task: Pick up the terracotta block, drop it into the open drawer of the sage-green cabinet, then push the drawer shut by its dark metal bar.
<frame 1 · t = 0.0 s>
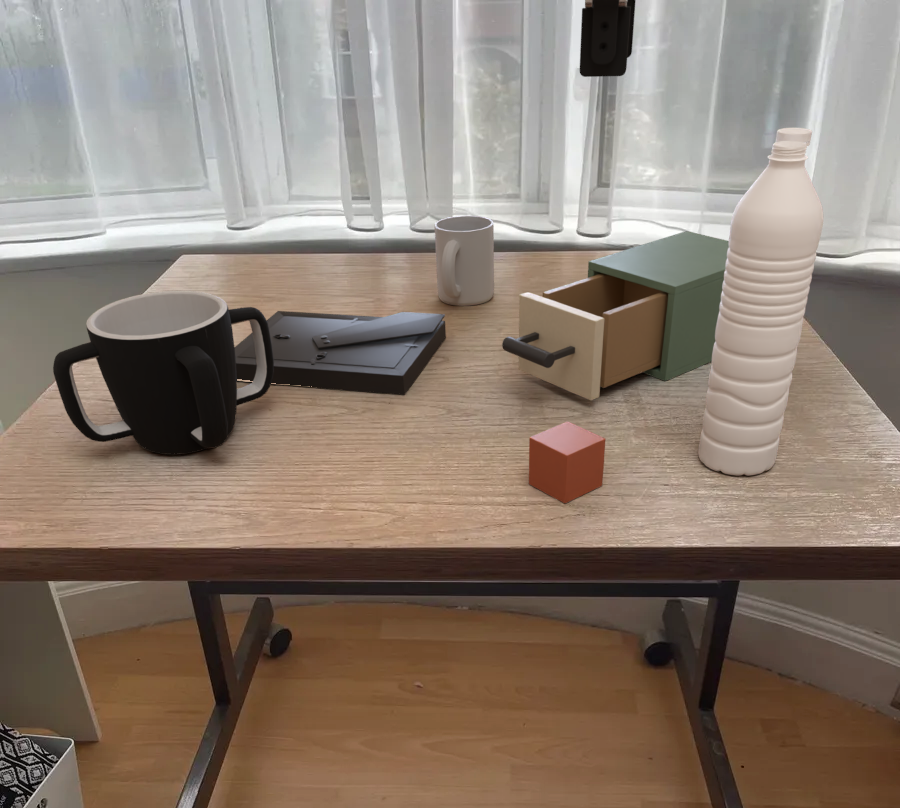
hand: (606, 66, 67), 29 cm above the table, tool pointing down, fingers open, 9 cm apart
cabinet: (671, 345, 99), on the table
water bottle: (737, 455, 79), on the table
picture frame: (337, 360, 100), on the table
drawer: (591, 333, 90), point 5 cm above the table, slide at 9.0 cm
mug: (187, 437, 86), on the table
block: (565, 484, 76), on the table
cup: (462, 302, 114), on the table
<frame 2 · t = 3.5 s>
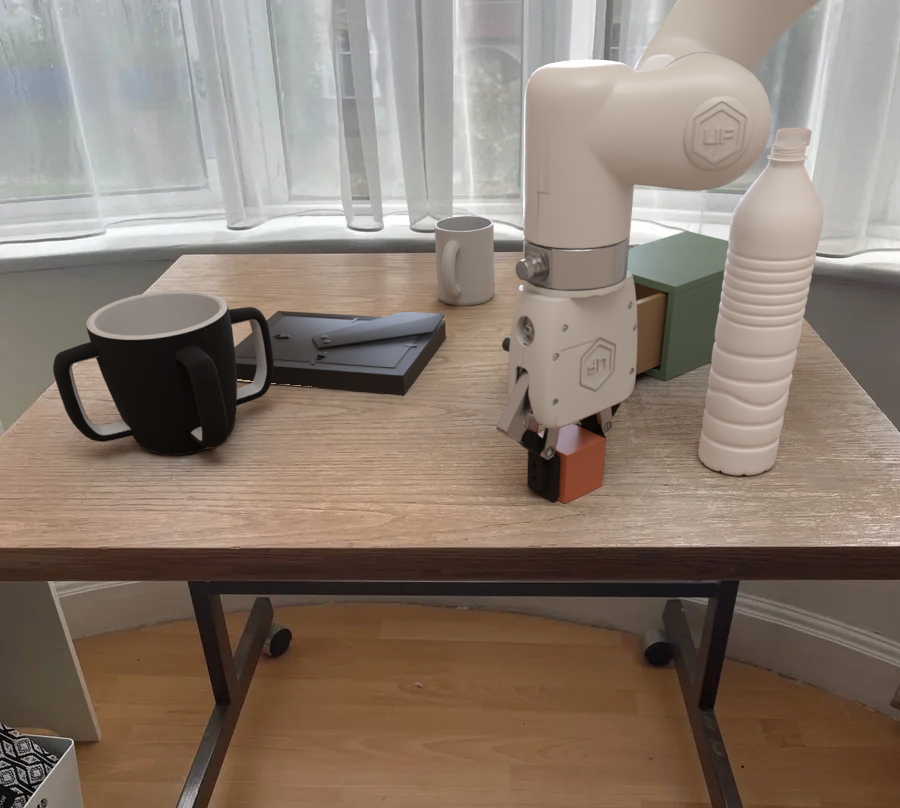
hand: (565, 481, 76), 0 cm above the table, tool pointing down, fingers closed on block, 4 cm apart
block: (565, 484, 76), on the table, touching gripper
everything else where it was.
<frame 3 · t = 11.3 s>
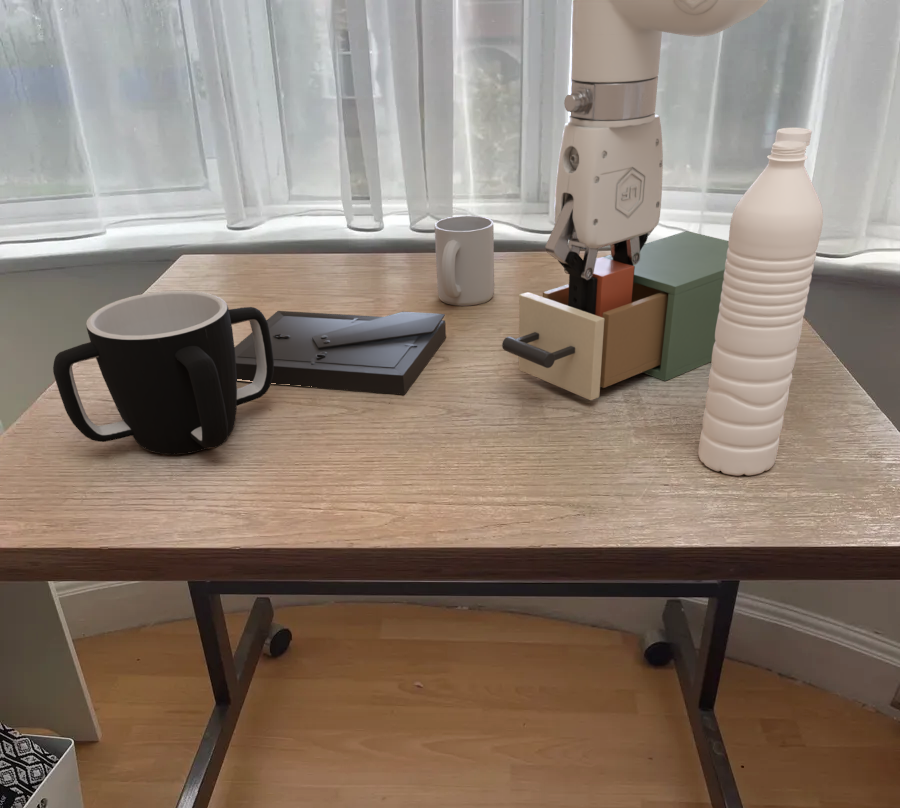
hand: (599, 308, 89), 7 cm above the table, tool pointing down, fingers closed on block, 4 cm apart
block: (599, 311, 89), point 7 cm above the table, touching gripper
everything else where it was.
when the fingers open (7 cm above the table, at t = 12.6 s): block drops 5 cm, resting on drawer.
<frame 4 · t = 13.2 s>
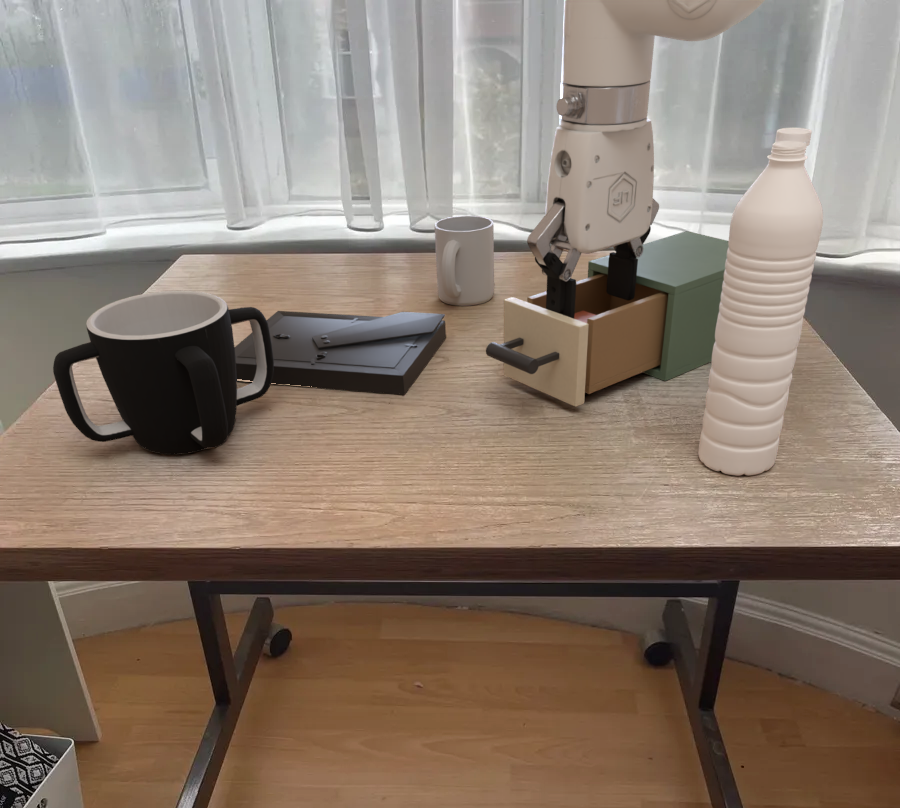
hand: (590, 306, 88), 8 cm above the table, tool pointing down, fingers open, 8 cm apart
drawer: (577, 338, 89), point 5 cm above the table, slide at 11.1 cm, touching block, gripper
block: (581, 363, 91), point 2 cm above the table, touching drawer
everything else where it was.
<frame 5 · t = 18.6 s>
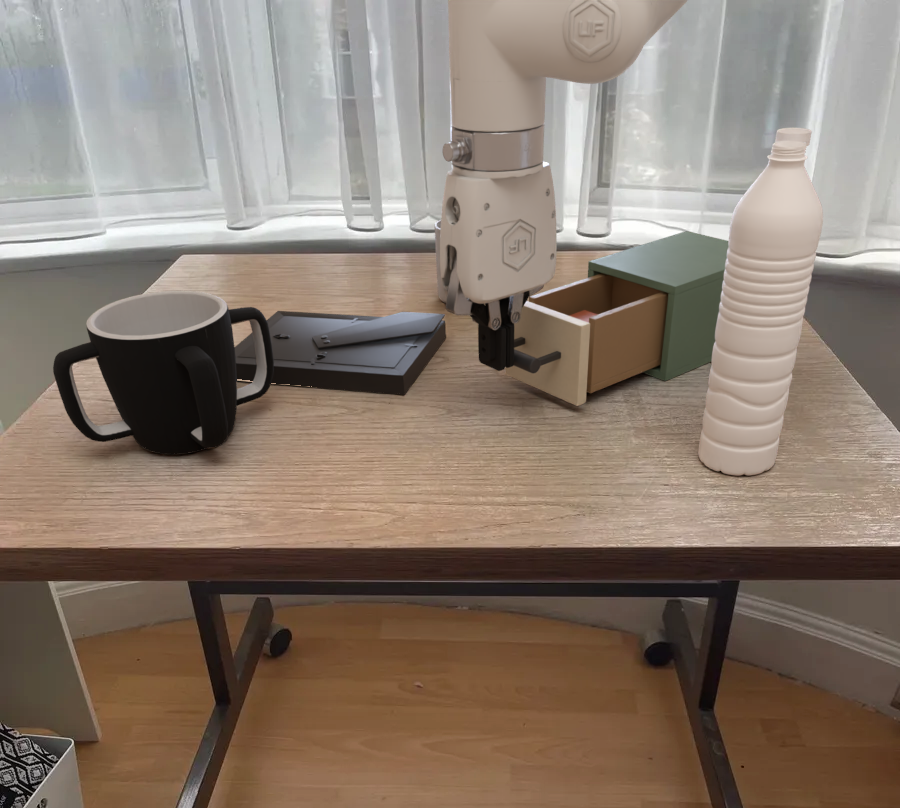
hand: (496, 364, 84), 5 cm above the table, tool pointing down, fingers closed
drawer: (578, 338, 89), point 5 cm above the table, slide at 10.8 cm, touching block
everything else where it was.
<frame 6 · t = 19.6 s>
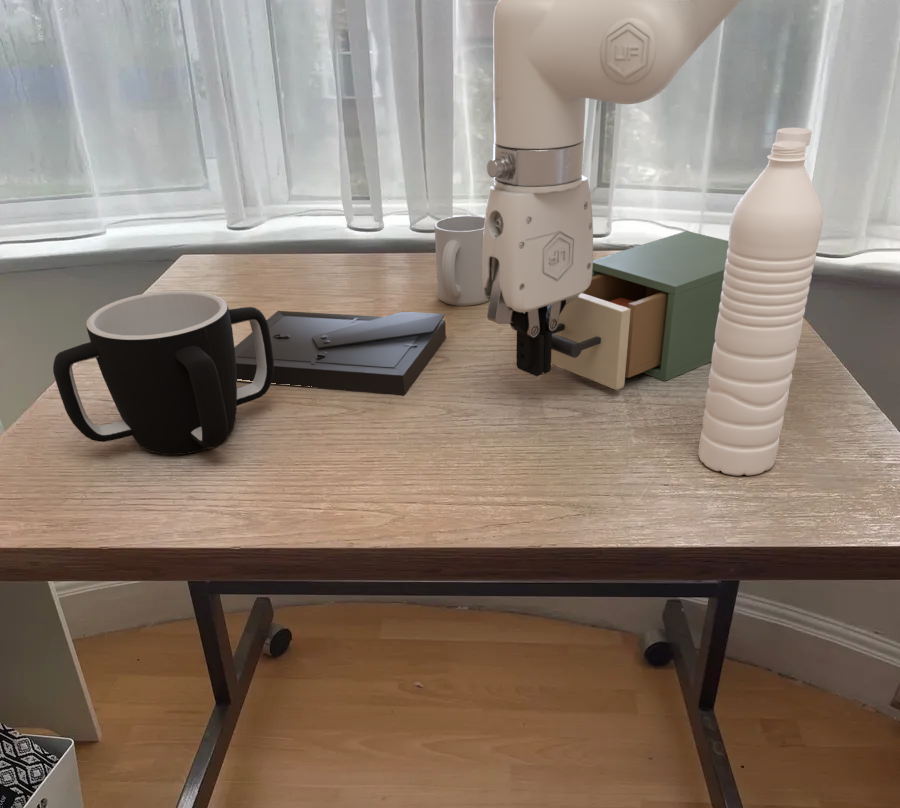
hand: (533, 369, 87), 3 cm above the table, tool pointing down, fingers closed
drawer: (616, 324, 92), point 5 cm above the table, slide at 5.5 cm, touching block, gripper
block: (619, 349, 94), point 2 cm above the table, touching drawer
everything else where it was.
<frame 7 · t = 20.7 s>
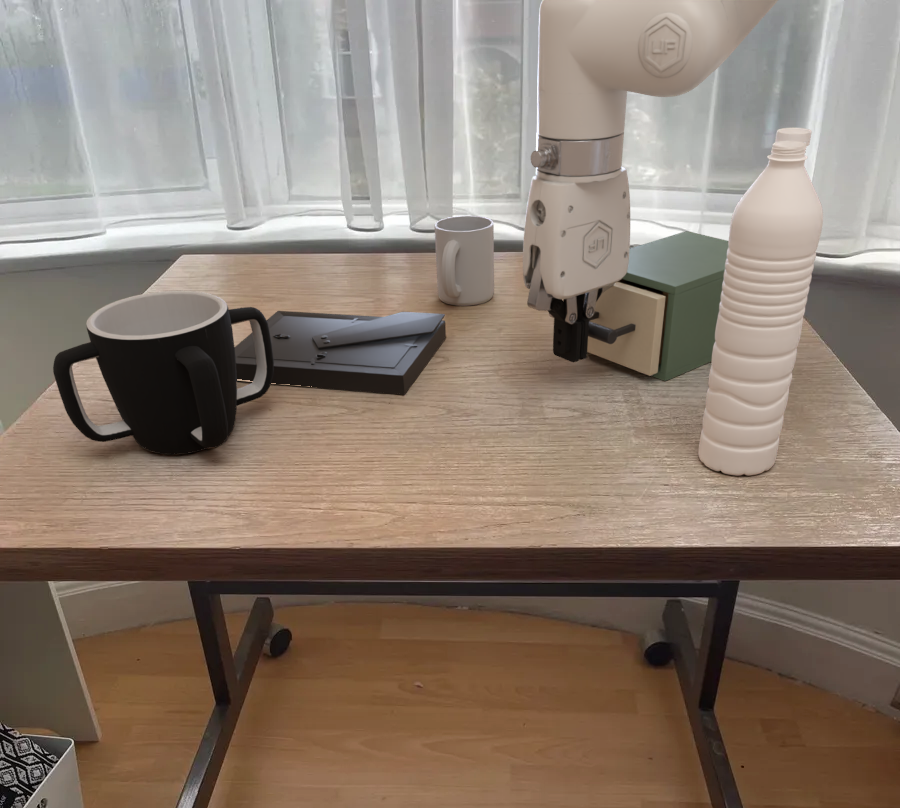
hand: (569, 356, 90), 3 cm above the table, tool pointing down, fingers closed
drawer: (648, 312, 94), point 5 cm above the table, slide at 0.5 cm, touching block, gripper
block: (651, 336, 96), point 2 cm above the table, touching drawer
everything else where it was.
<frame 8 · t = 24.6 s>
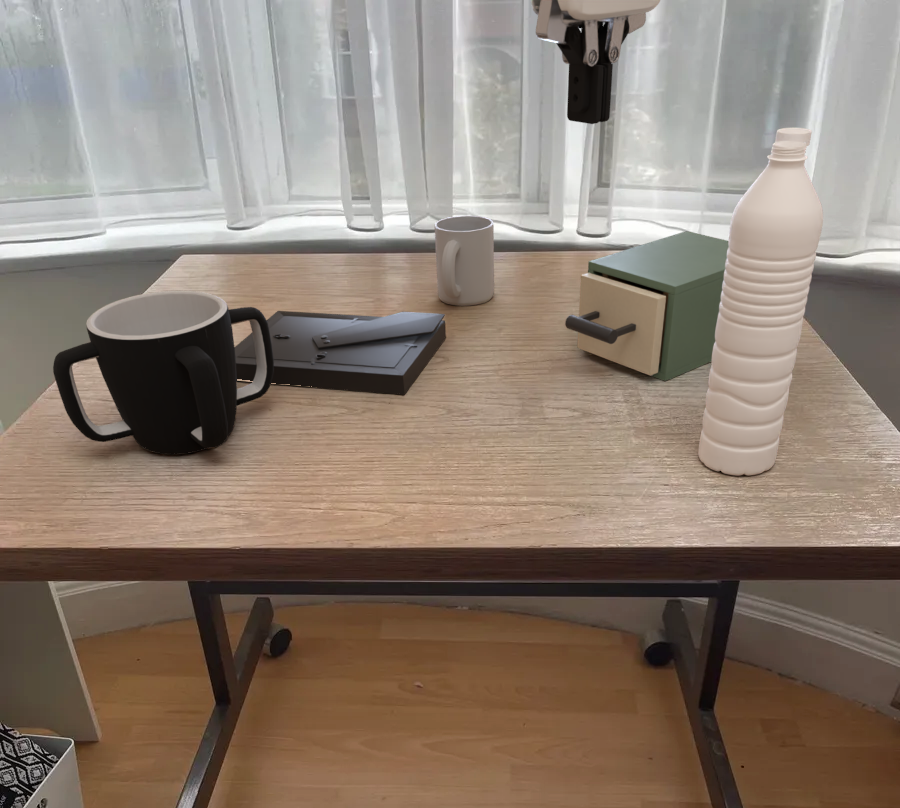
hand: (587, 120, 72), 25 cm above the table, tool pointing down, fingers closed
drawer: (649, 312, 94), point 5 cm above the table, slide at 0.5 cm, touching block
everything else where it was.
at the end: block inside the target area in the cabinet (3.6 cm from its centre), point 2.0 cm above the cabinet's base; drawer slide at 0.5 cm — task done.
